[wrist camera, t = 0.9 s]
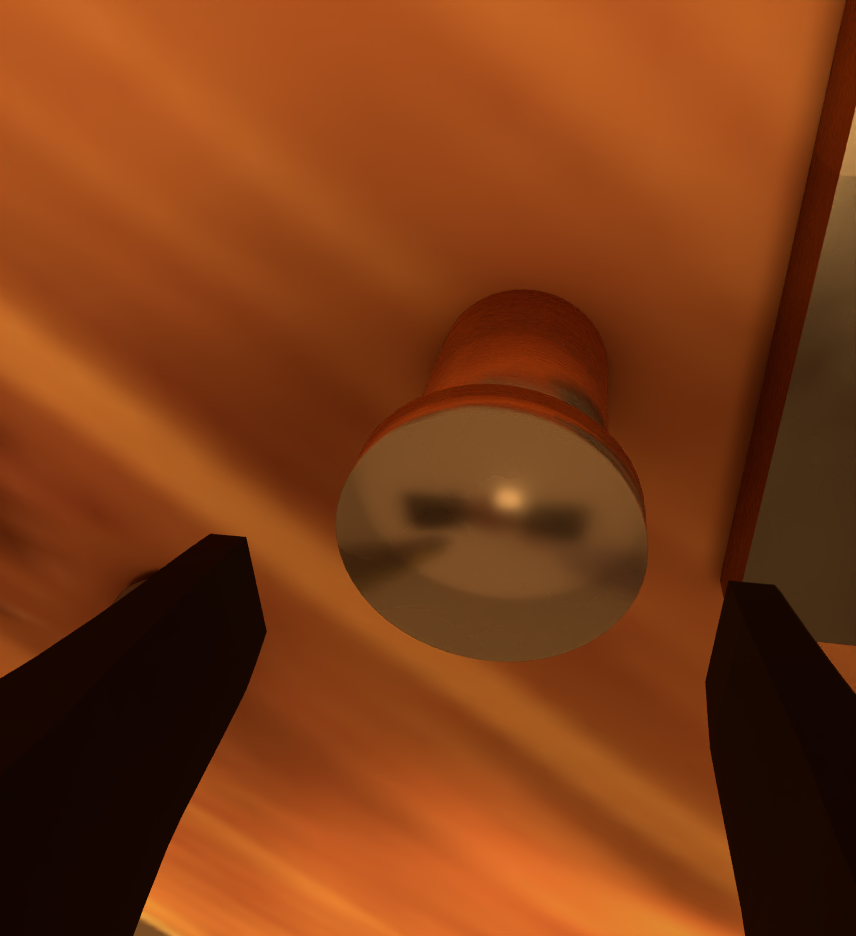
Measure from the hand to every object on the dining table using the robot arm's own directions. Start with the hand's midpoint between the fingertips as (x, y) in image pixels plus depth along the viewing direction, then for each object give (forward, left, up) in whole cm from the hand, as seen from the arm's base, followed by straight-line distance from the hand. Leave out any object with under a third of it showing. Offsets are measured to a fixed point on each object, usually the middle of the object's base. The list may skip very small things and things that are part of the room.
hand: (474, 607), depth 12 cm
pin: (0, 0, -8) cm, 8 cm away
